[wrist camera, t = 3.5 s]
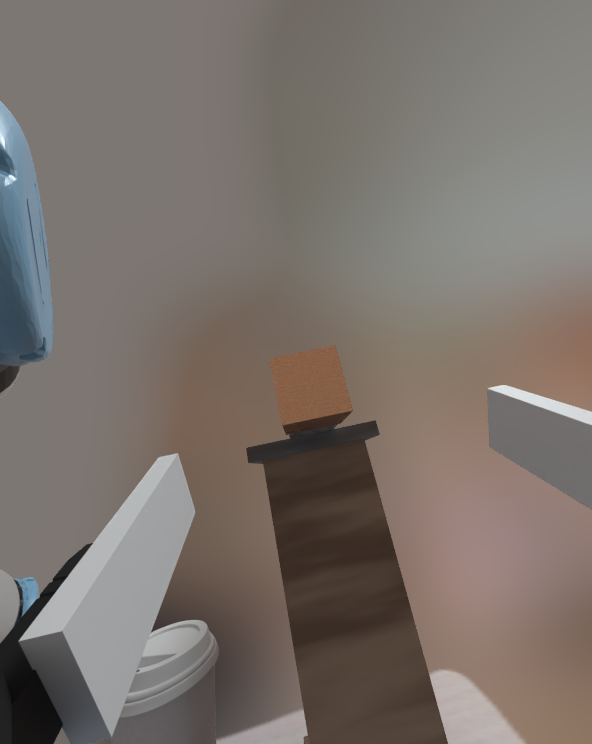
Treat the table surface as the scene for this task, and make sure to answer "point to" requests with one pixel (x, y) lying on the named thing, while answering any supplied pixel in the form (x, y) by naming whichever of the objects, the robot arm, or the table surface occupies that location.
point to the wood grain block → (310, 391)
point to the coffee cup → (172, 689)
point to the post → (346, 594)
